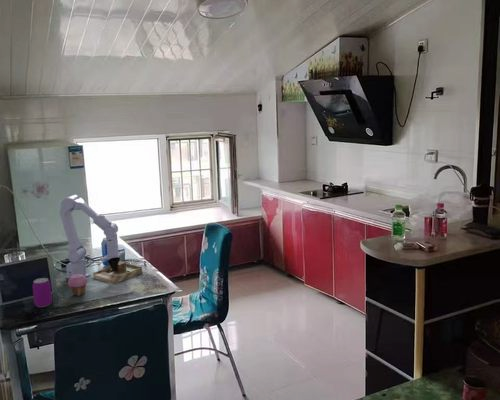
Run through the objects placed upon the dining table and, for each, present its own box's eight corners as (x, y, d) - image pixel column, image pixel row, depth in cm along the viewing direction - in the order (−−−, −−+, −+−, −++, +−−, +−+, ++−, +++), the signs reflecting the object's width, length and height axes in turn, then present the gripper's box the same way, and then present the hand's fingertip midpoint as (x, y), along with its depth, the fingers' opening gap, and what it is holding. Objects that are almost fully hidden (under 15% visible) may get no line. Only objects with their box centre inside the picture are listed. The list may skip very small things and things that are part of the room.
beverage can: (55, 301, 237) (52, 277, 235) (48, 307, 229) (45, 283, 227) (39, 301, 237) (36, 277, 235) (31, 308, 230) (28, 283, 227)
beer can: (109, 268, 281) (107, 241, 278) (100, 266, 286) (97, 239, 283) (121, 264, 288) (119, 237, 285) (112, 262, 293) (109, 235, 290)
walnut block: (119, 272, 268) (119, 264, 267) (114, 271, 271) (113, 263, 270) (126, 270, 272) (125, 262, 271) (120, 269, 274) (120, 261, 273)
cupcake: (79, 298, 239) (77, 278, 237) (65, 296, 243) (63, 276, 241) (92, 292, 247) (90, 272, 245) (78, 289, 251) (76, 270, 249)
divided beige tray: (113, 283, 258) (112, 277, 257) (93, 277, 267) (93, 271, 267) (142, 272, 273) (141, 266, 273) (122, 267, 283) (122, 261, 282)
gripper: (106, 251, 257) (108, 276, 260) (128, 244, 269) (130, 268, 271) (97, 249, 261) (99, 274, 264) (119, 242, 273) (121, 266, 275)
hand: (114, 271), depth 268 cm, fingers closed
